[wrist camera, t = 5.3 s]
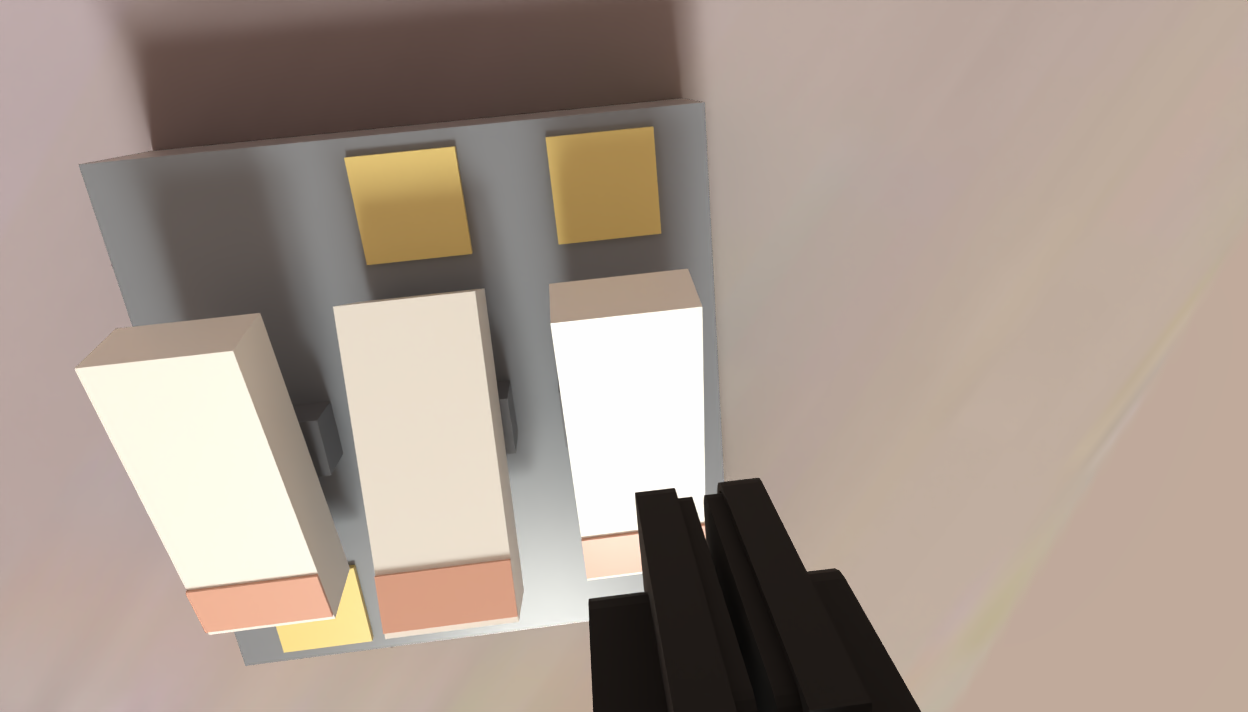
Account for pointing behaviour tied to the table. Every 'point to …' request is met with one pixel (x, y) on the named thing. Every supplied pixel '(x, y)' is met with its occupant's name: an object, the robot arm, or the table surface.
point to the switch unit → (423, 292)
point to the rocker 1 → (221, 468)
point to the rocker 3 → (629, 403)
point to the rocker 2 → (431, 461)
